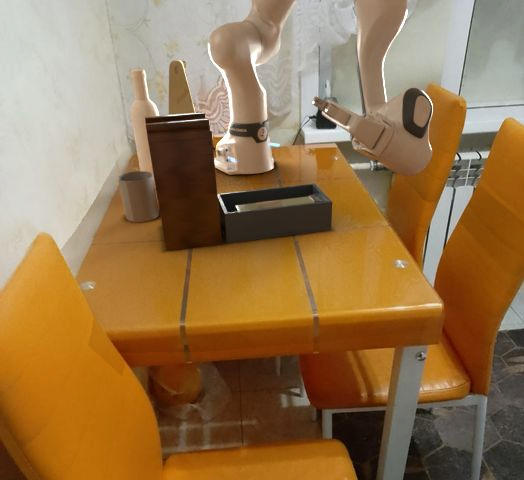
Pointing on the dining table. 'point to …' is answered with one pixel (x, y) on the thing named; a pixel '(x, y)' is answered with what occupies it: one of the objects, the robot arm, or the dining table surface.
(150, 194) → the cup
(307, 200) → the drawer
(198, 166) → the stand
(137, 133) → the bottle
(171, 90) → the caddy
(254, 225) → the crate
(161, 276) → the dining table surface
